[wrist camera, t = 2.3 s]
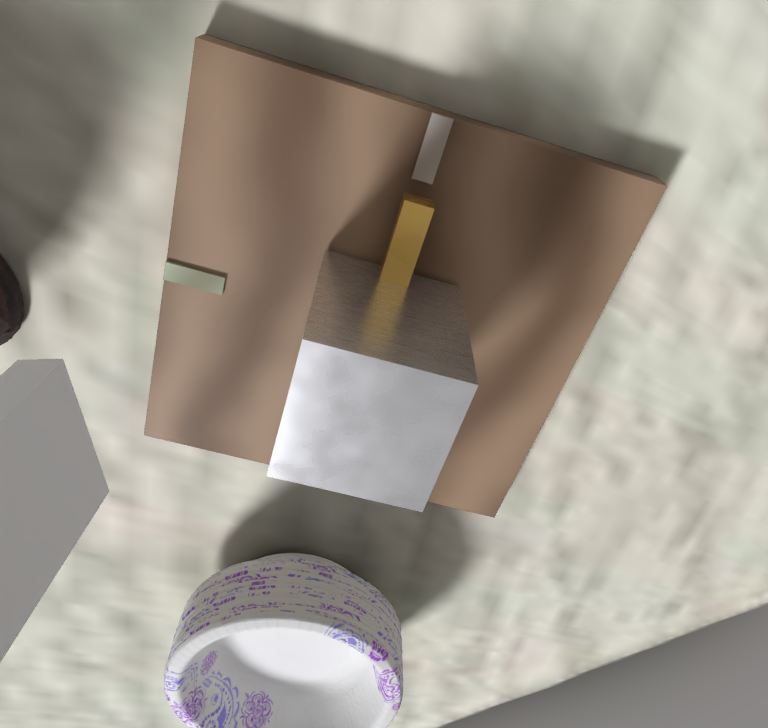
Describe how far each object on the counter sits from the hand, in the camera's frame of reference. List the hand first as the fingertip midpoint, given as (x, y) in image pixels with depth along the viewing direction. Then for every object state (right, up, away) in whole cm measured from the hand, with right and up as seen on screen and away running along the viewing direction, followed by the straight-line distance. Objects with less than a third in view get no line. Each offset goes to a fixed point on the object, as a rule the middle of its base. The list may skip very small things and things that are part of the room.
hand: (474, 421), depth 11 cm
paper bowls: (-8, -16, +38) cm, 42 cm away
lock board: (-2, +4, +26) cm, 26 cm away
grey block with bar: (-1, +4, +23) cm, 24 cm away
